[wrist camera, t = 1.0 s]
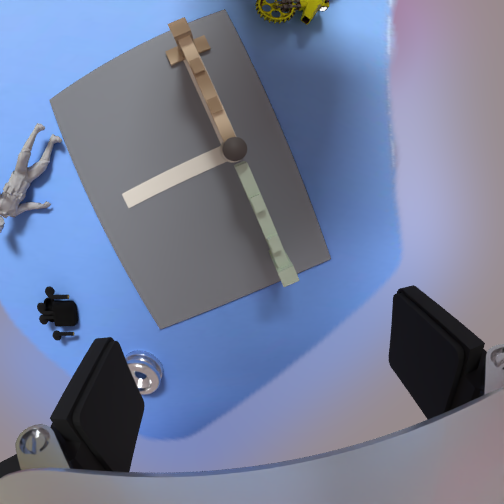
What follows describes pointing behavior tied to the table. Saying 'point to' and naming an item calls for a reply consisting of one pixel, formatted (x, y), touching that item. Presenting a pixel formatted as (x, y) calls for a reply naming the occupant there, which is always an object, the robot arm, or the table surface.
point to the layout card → (186, 173)
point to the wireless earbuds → (58, 312)
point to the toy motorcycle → (292, 9)
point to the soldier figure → (24, 179)
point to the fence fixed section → (205, 84)
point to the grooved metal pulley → (145, 370)
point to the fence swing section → (266, 225)
